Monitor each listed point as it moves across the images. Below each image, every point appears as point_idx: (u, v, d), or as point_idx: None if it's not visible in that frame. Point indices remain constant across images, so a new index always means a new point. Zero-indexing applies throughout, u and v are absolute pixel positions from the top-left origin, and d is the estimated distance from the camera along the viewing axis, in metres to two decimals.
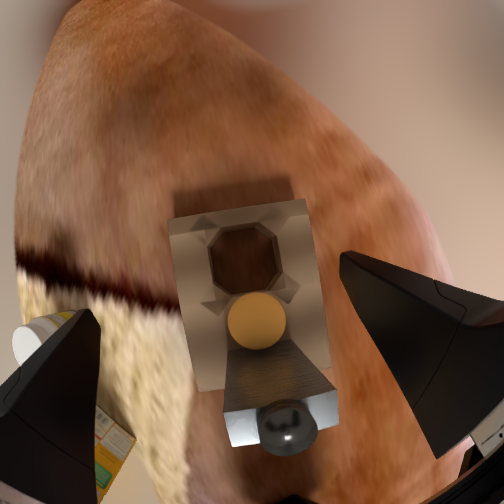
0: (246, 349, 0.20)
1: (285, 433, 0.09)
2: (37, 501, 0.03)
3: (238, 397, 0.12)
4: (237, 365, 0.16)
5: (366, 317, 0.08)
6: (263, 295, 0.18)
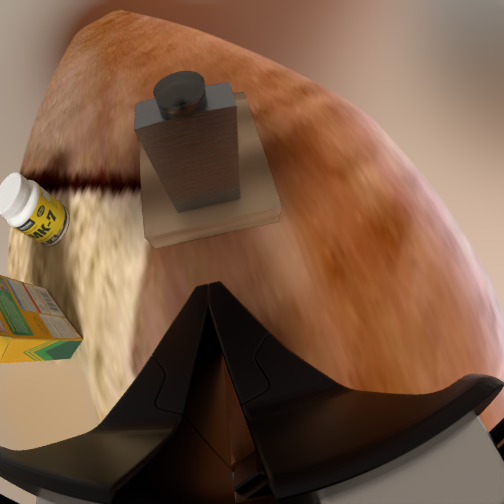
0: None
1: (175, 84, 0.11)
2: None
3: None
4: None
5: None
6: None
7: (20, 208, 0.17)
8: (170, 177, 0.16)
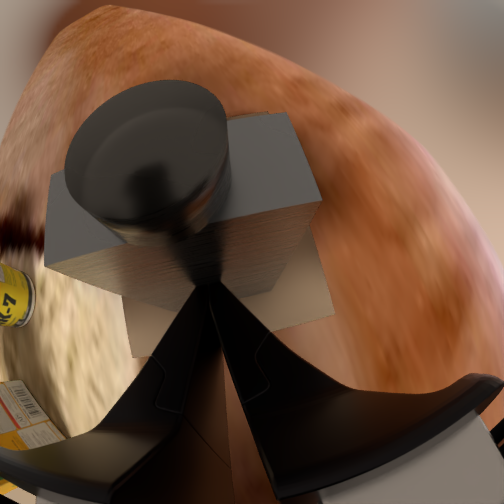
0: None
1: (129, 130, 0.03)
2: None
3: None
4: None
5: None
6: None
7: None
8: (157, 297, 0.09)
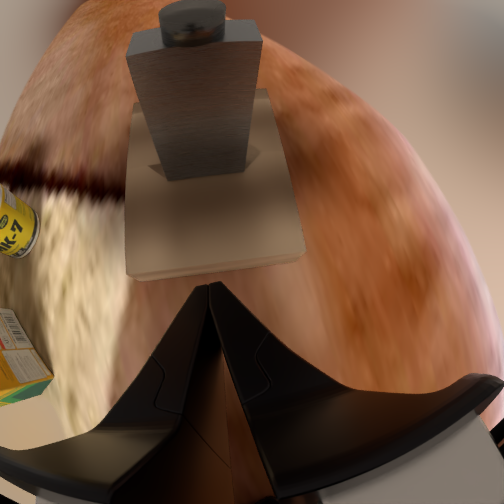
0: None
1: (188, 7, 0.07)
2: None
3: None
4: None
5: None
6: None
7: None
8: (163, 130, 0.12)
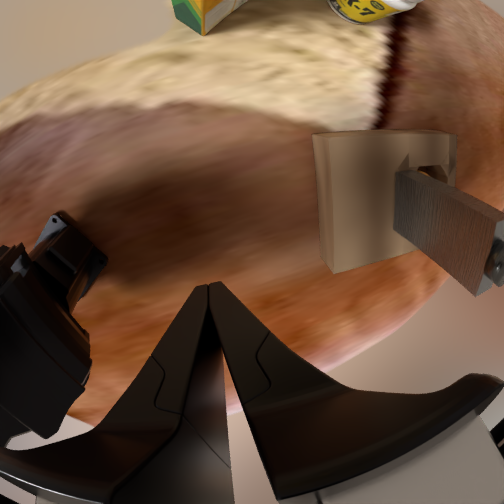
0: None
1: None
2: None
3: None
4: None
5: None
6: None
7: None
8: (439, 202, 0.15)
